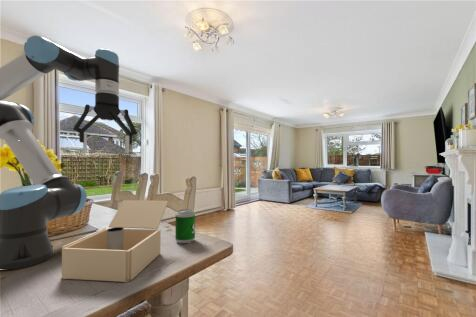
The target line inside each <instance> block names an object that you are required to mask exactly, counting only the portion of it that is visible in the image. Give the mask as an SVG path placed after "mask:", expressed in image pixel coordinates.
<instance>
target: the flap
mask: <svg viewBox="0 0 476 317" xmlns="http://www.w3.org/2000/svg"><path fill="white" fill-rule="evenodd" d="M168 203H169V201H168V200H147V199H146V200H144V199H142V200H140V199H139V200H137V199H135V200H134V199H123V200H122V202H121V204H120V205H119V208H118V209H117V211H116V213H115V214H114V216H113V218H112V220H110V223H109V224H108V228H115V227H122V228H124V229H144V230H159V227H160V224H161V222H162V219H163V216H164V214H165V210H166V208H167V206H168Z"/></svg>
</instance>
